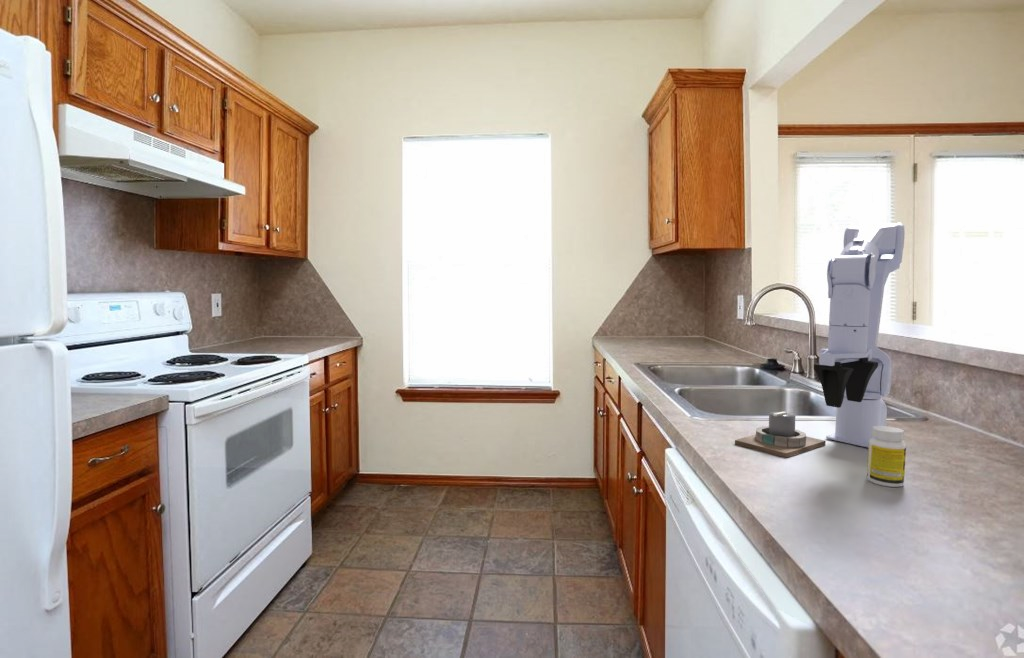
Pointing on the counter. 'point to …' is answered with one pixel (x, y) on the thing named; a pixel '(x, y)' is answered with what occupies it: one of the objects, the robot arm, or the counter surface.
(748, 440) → the hub plate
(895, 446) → the supplement bottle
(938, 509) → the counter surface
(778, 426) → the knob
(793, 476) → the counter surface
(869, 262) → the robot arm
